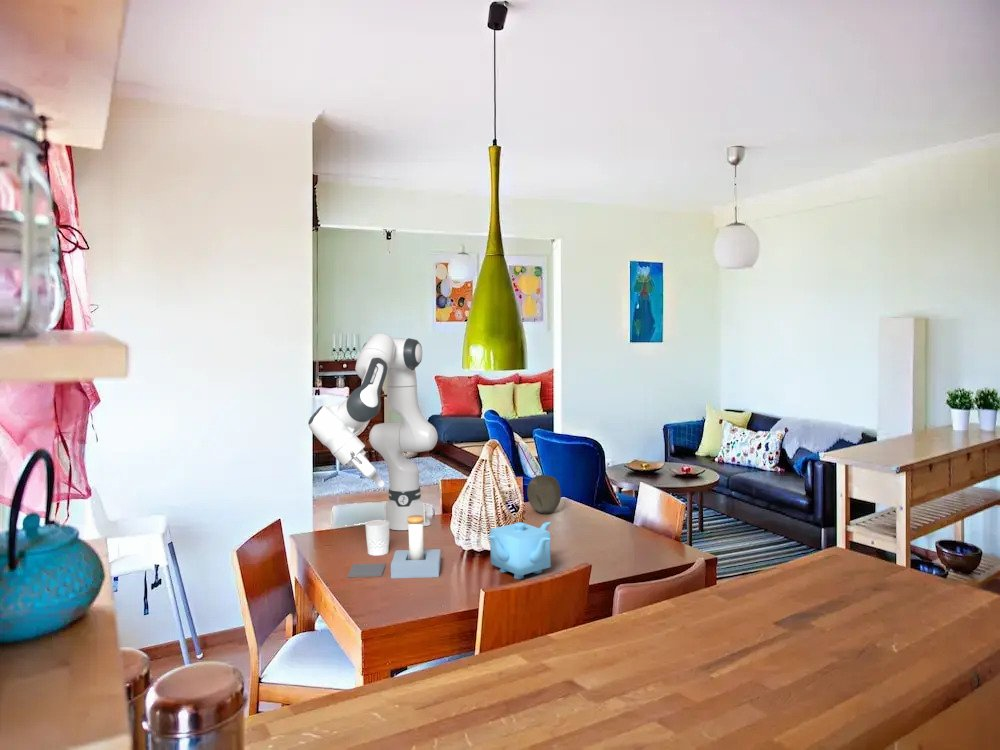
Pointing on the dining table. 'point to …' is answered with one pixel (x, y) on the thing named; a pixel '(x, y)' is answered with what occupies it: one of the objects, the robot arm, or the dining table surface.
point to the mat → (367, 570)
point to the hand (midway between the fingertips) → (382, 485)
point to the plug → (416, 537)
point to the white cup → (377, 537)
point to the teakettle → (520, 548)
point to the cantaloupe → (544, 493)
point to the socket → (416, 564)
